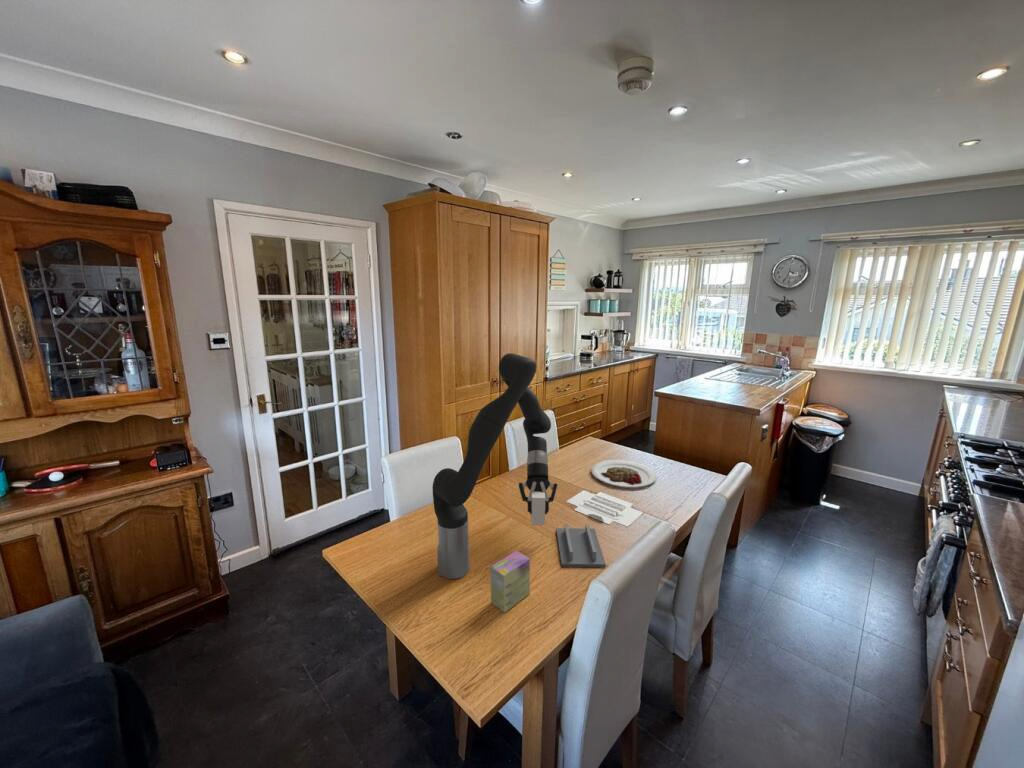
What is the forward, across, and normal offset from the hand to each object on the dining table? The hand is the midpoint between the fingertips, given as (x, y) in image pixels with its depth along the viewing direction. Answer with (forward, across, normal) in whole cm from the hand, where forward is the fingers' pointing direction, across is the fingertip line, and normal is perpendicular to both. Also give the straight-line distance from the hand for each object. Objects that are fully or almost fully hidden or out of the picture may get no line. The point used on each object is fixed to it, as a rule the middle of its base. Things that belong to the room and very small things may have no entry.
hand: (538, 513), depth 136 cm
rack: (+9, +14, +9) cm, 19 cm away
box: (+26, -9, -8) cm, 29 cm away
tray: (-10, +28, +29) cm, 41 cm away
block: (+2, 0, +4) cm, 5 cm away
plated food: (-31, +43, +49) cm, 73 cm away
